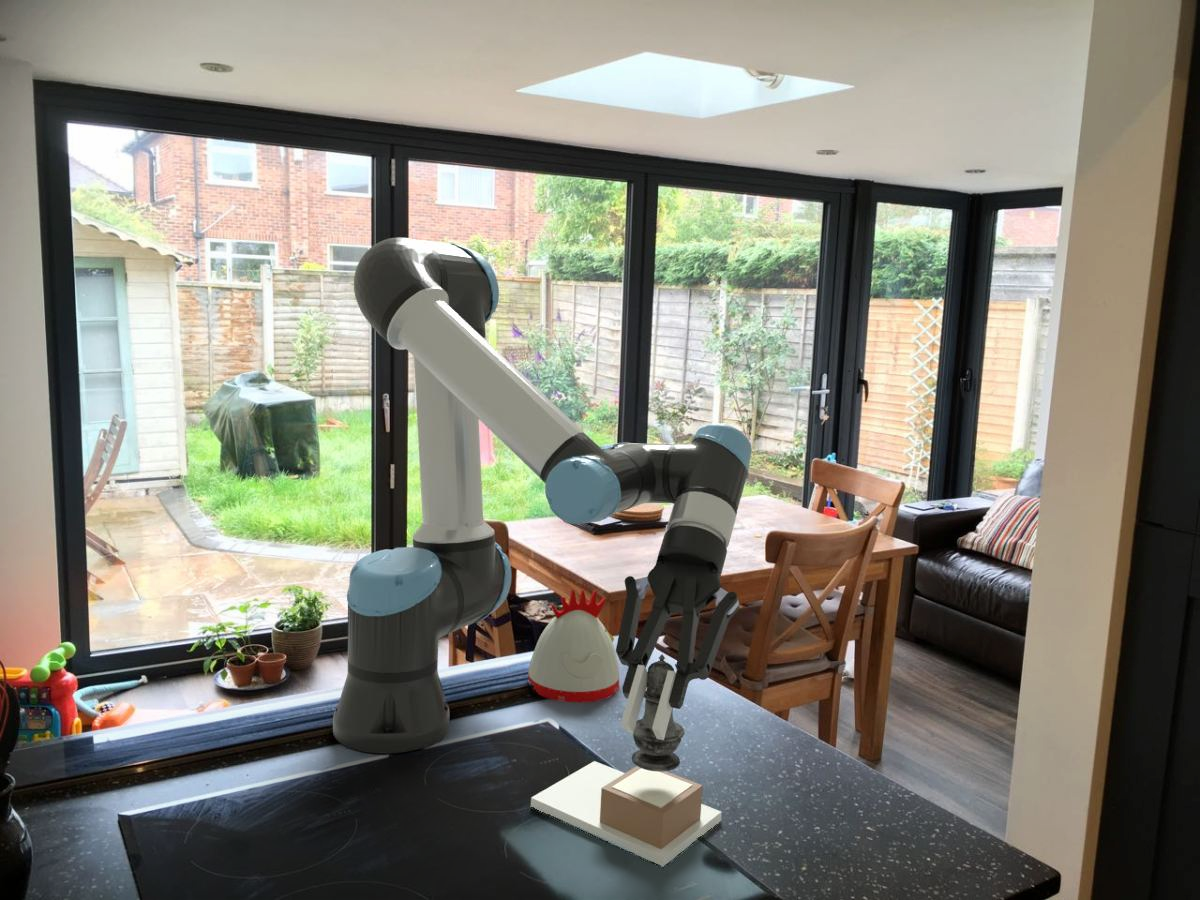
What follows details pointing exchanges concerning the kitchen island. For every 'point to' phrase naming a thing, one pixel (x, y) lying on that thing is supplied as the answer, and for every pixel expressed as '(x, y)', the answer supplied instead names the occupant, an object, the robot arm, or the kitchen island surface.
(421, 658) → the robot arm
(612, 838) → the build board
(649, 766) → the salt shaker
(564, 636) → the kitchen timer
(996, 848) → the kitchen island surface
